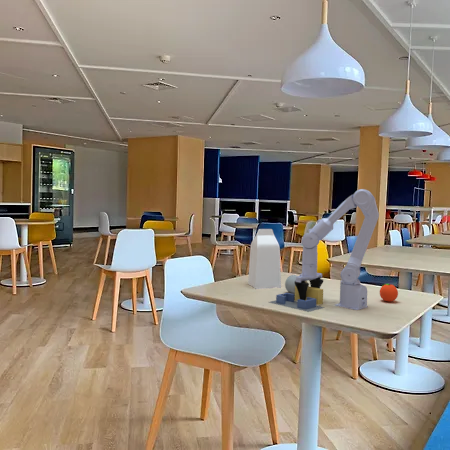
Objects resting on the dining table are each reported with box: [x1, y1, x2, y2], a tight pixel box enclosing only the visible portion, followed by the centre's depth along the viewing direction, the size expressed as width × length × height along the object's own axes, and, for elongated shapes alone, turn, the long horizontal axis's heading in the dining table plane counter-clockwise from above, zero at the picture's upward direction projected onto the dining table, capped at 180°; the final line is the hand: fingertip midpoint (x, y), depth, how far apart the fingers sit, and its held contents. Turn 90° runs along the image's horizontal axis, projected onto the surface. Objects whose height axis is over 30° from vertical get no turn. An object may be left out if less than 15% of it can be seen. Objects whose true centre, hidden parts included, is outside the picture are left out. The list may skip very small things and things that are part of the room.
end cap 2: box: [296, 297, 317, 310], centre depth 168 cm, size 4×6×3 cm, turn 134°
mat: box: [268, 300, 325, 313], centre depth 172 cm, size 19×10×1 cm, turn 44°
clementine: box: [379, 283, 399, 303], centre depth 182 cm, size 8×7×7 cm
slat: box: [295, 286, 324, 306], centre depth 177 cm, size 11×3×6 cm, turn 44°
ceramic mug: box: [284, 274, 309, 294], centre depth 192 cm, size 11×8×8 cm
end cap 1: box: [275, 292, 296, 304], centre depth 175 cm, size 4×6×3 cm, turn 134°
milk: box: [247, 228, 282, 290], centre depth 208 cm, size 12×12×26 cm
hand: (308, 298), depth 177 cm, fingers open, 7 cm apart
